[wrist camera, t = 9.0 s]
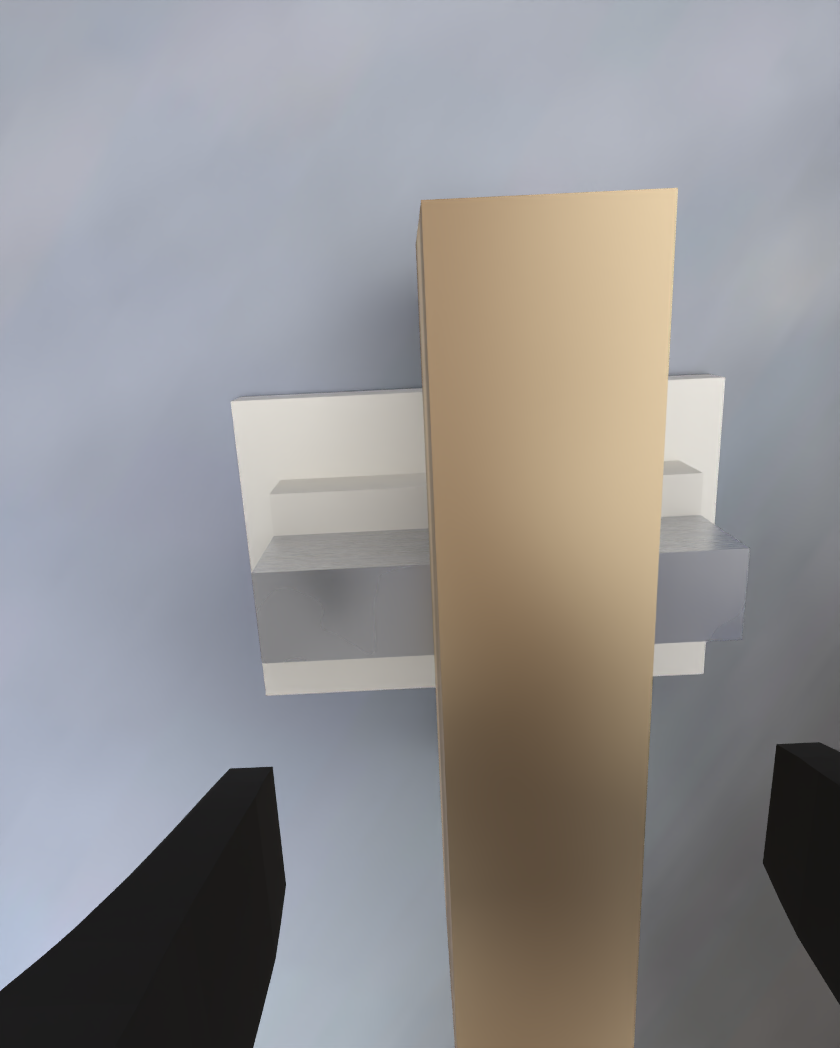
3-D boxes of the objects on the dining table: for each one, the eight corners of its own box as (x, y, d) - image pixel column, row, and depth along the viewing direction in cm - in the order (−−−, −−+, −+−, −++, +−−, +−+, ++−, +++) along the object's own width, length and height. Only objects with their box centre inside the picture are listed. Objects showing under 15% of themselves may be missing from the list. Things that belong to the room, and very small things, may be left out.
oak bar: (574, 236, 13) (677, 188, 8) (565, 883, 16) (629, 1117, 12) (416, 244, 13) (420, 200, 8) (445, 890, 16) (460, 1126, 12)
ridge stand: (708, 374, 18) (816, 395, 13) (689, 656, 20) (776, 761, 16) (239, 397, 18) (179, 425, 13) (272, 677, 20) (231, 789, 16)
